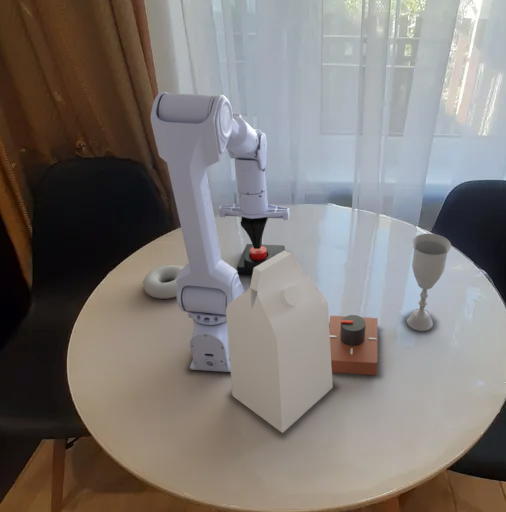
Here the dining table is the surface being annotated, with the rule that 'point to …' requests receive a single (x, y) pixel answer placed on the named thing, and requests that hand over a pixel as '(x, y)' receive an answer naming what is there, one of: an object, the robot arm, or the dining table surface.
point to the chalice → (427, 273)
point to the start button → (258, 253)
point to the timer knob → (352, 330)
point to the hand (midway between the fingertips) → (257, 246)
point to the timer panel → (354, 349)
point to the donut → (160, 275)
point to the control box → (248, 264)
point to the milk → (279, 342)
